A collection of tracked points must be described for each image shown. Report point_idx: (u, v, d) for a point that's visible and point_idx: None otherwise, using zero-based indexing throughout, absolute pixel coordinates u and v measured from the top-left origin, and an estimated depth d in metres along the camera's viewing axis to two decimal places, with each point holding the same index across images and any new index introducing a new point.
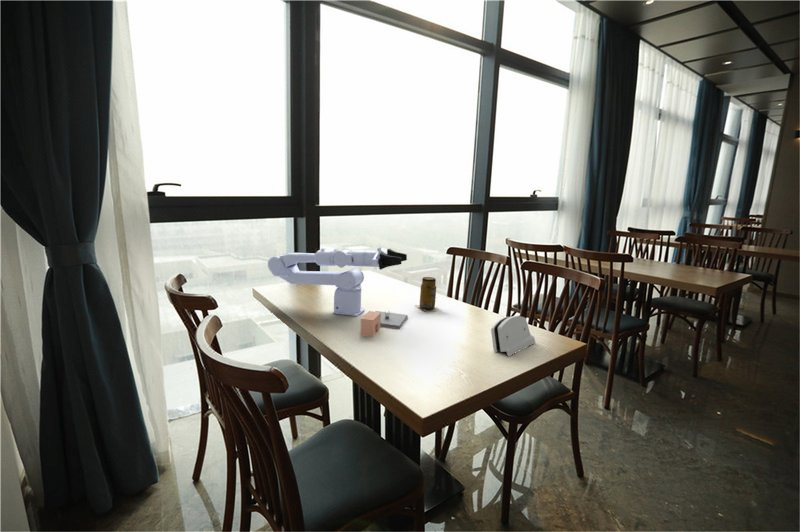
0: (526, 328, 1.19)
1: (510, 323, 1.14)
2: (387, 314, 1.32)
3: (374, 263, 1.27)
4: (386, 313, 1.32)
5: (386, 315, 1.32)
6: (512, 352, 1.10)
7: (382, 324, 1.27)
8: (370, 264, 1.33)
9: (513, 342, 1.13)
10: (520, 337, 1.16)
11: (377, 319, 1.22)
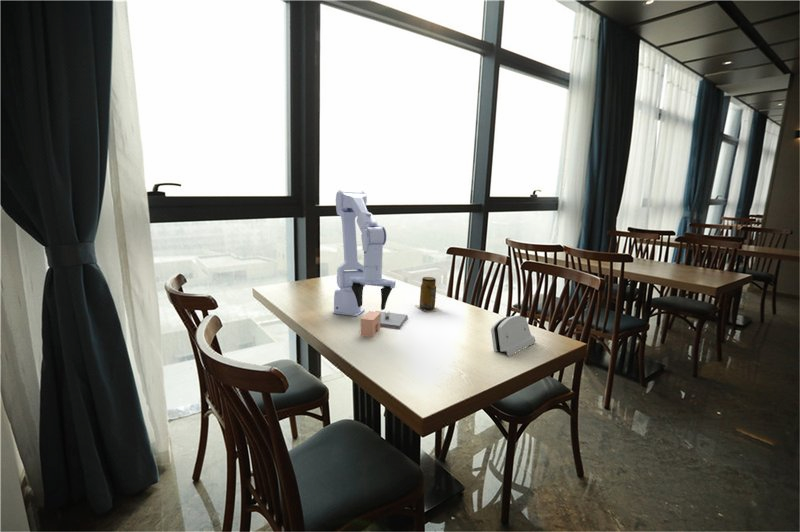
0: (526, 328, 1.19)
1: (510, 323, 1.14)
2: (387, 314, 1.32)
3: None
4: (386, 313, 1.32)
5: (386, 315, 1.32)
6: (512, 352, 1.10)
7: (382, 324, 1.27)
8: None
9: (514, 342, 1.13)
10: (520, 337, 1.16)
11: (377, 319, 1.22)
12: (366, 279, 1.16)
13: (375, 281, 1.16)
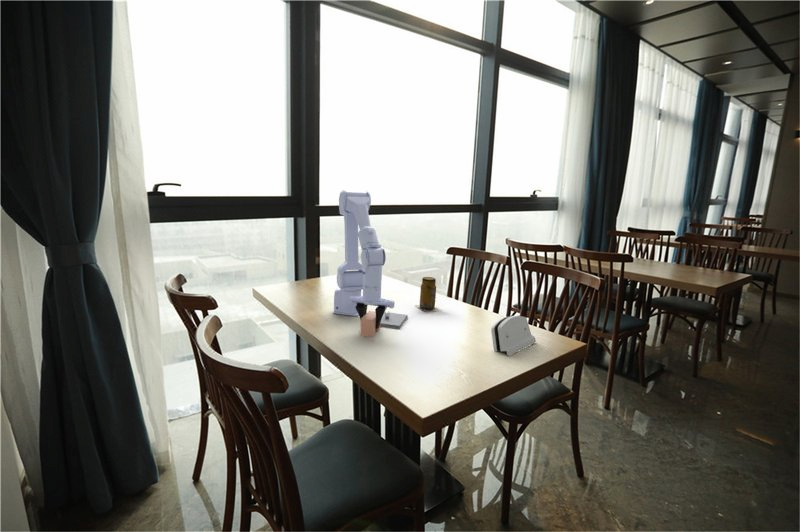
0: (527, 328, 1.19)
1: (510, 322, 1.14)
2: (387, 314, 1.32)
3: None
4: (386, 313, 1.32)
5: (386, 315, 1.32)
6: (512, 352, 1.10)
7: (382, 324, 1.27)
8: None
9: (514, 342, 1.13)
10: (521, 337, 1.16)
11: None
12: (365, 299, 1.18)
13: (374, 301, 1.17)
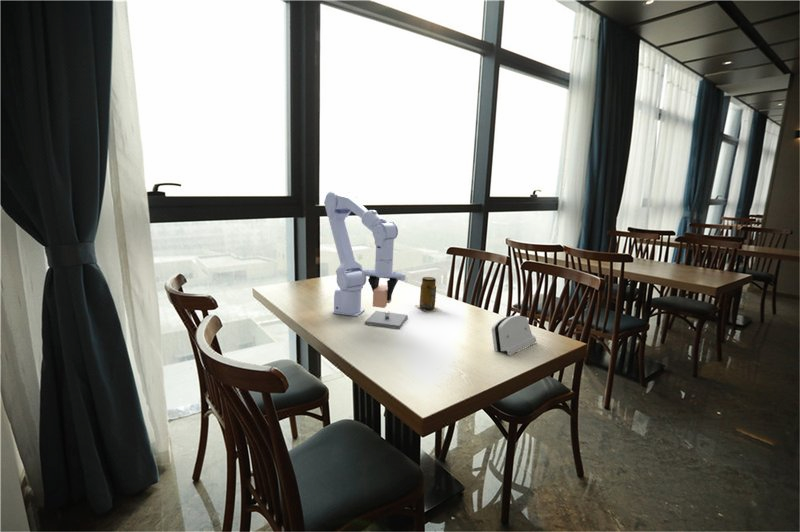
0: (527, 328, 1.20)
1: (510, 322, 1.14)
2: (387, 314, 1.32)
3: None
4: (386, 313, 1.32)
5: (386, 315, 1.32)
6: (512, 351, 1.10)
7: (382, 324, 1.27)
8: None
9: (514, 341, 1.13)
10: (521, 337, 1.16)
11: None
12: (378, 272, 1.24)
13: (386, 274, 1.23)
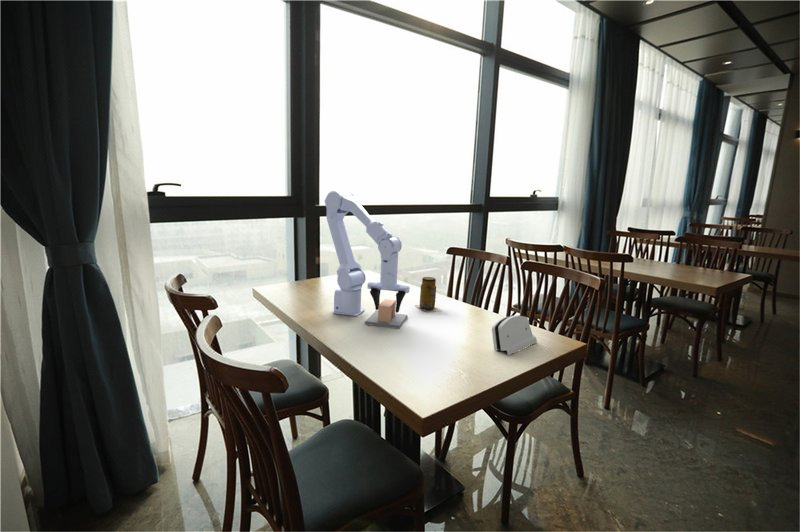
0: (528, 328, 1.20)
1: (511, 322, 1.14)
2: None
3: None
4: None
5: None
6: (512, 351, 1.10)
7: (382, 324, 1.27)
8: None
9: (514, 341, 1.14)
10: (521, 337, 1.17)
11: (393, 306, 1.32)
12: (383, 285, 1.28)
13: (391, 286, 1.28)
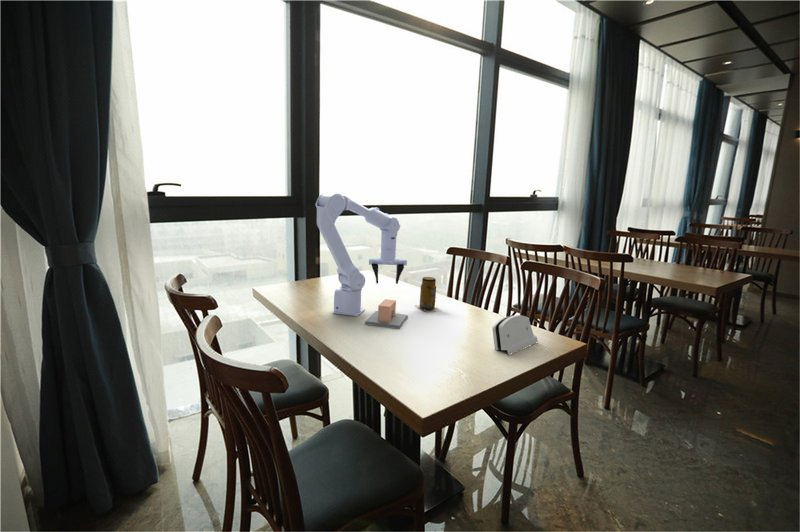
0: (529, 327, 1.20)
1: (511, 322, 1.14)
2: None
3: None
4: None
5: None
6: (513, 351, 1.11)
7: (382, 324, 1.27)
8: None
9: (515, 341, 1.14)
10: (522, 337, 1.17)
11: (393, 306, 1.32)
12: (385, 259, 1.43)
13: (393, 260, 1.44)
